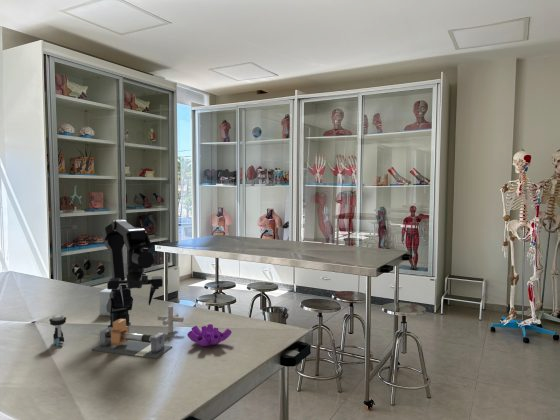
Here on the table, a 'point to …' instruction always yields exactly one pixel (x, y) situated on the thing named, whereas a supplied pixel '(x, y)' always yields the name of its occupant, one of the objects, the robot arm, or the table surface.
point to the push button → (58, 329)
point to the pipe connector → (170, 319)
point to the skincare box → (104, 301)
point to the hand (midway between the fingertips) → (136, 305)
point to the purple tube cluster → (208, 335)
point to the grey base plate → (132, 349)
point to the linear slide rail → (134, 339)
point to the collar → (118, 332)
